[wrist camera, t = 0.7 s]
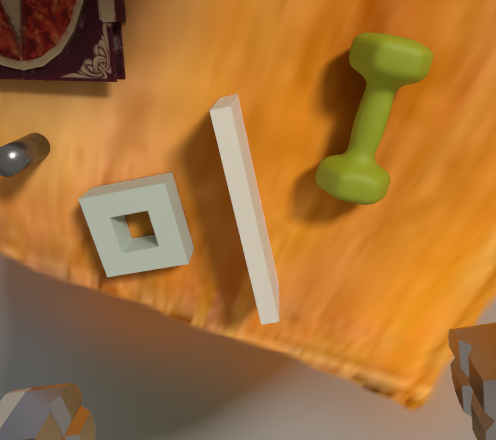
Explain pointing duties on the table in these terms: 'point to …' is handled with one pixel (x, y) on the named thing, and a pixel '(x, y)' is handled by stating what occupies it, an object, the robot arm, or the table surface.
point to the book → (62, 40)
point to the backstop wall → (246, 204)
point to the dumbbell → (372, 115)
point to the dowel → (22, 153)
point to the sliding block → (117, 232)
